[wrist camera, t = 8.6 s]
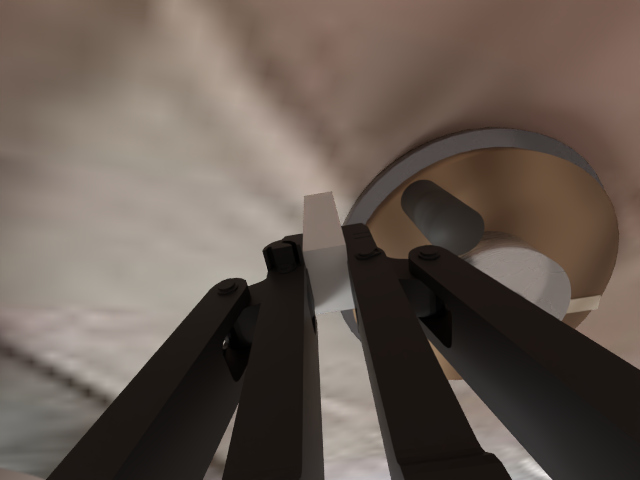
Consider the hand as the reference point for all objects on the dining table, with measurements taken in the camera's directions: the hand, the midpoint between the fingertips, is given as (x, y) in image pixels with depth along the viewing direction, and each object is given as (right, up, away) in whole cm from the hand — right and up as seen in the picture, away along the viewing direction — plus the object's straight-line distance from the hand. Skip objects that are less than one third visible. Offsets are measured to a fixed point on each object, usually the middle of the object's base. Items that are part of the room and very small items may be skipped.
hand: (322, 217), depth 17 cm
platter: (+11, -4, +6) cm, 13 cm away
